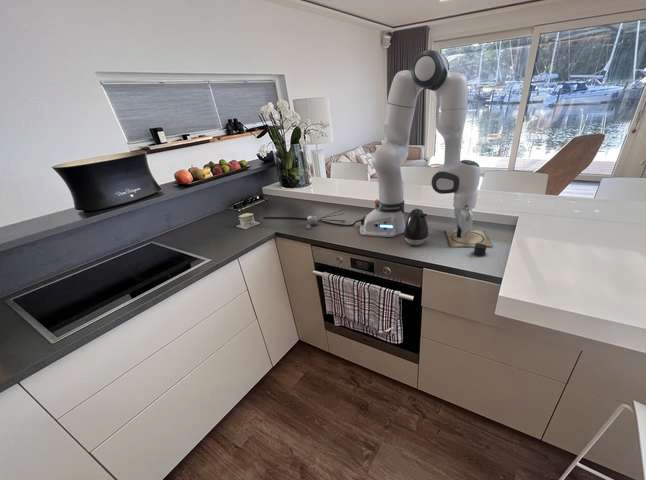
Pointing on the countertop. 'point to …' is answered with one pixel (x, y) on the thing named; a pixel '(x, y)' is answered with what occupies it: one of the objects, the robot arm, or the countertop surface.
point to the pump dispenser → (416, 227)
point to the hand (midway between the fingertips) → (460, 233)
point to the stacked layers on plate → (247, 221)
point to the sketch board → (468, 239)
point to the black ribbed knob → (459, 232)
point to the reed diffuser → (319, 219)
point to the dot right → (480, 249)
